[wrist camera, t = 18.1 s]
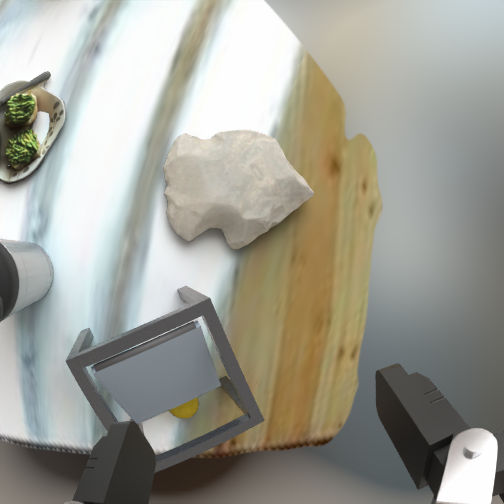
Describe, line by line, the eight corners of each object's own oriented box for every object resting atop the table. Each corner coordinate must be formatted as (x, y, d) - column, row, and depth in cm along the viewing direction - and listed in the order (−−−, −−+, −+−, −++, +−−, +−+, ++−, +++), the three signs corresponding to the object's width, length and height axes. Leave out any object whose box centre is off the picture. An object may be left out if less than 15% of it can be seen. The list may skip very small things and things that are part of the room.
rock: (162, 126, 44) (318, 127, 51) (162, 140, 51) (301, 139, 57) (167, 256, 46) (328, 243, 52) (167, 254, 52) (309, 242, 59)
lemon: (193, 373, 47) (211, 414, 47) (177, 366, 51) (194, 404, 52) (163, 390, 43) (183, 431, 44) (149, 381, 47) (168, 419, 48)
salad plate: (22, 61, 39) (17, 48, 35) (90, 99, 45) (88, 86, 41) (-42, 149, 35) (-52, 141, 31) (23, 197, 41) (14, 191, 37)
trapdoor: (134, 418, 41) (137, 423, 40) (89, 364, 32) (90, 371, 31) (218, 380, 46) (221, 385, 45) (196, 317, 37) (199, 323, 36)
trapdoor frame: (134, 426, 47) (142, 477, 33) (81, 331, 44) (65, 361, 30) (229, 382, 53) (264, 420, 39) (186, 285, 51) (210, 298, 37)
